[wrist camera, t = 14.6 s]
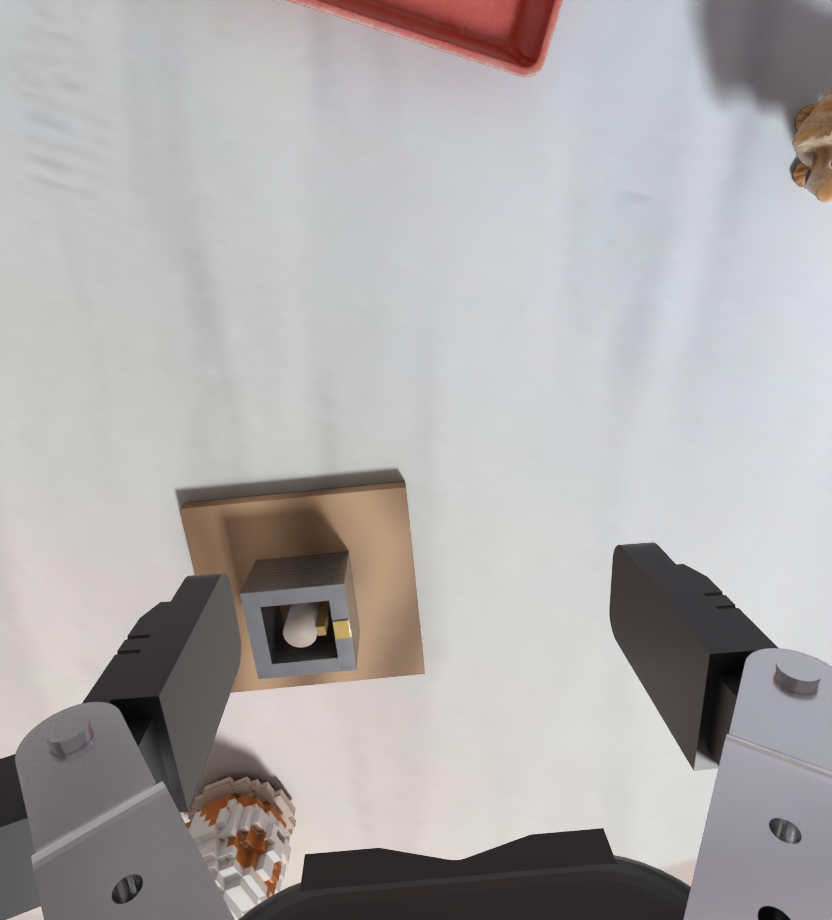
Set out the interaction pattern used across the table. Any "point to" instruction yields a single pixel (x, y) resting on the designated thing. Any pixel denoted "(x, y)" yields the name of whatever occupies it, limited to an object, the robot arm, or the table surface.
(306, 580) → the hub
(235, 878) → the decorative ornament
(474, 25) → the plant saucer
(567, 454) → the table surface
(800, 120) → the lion figurine
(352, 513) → the tan square baseplate
